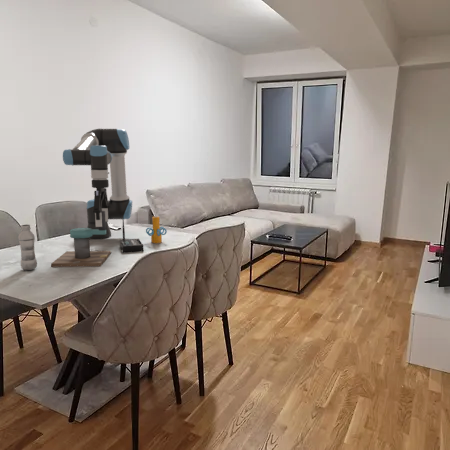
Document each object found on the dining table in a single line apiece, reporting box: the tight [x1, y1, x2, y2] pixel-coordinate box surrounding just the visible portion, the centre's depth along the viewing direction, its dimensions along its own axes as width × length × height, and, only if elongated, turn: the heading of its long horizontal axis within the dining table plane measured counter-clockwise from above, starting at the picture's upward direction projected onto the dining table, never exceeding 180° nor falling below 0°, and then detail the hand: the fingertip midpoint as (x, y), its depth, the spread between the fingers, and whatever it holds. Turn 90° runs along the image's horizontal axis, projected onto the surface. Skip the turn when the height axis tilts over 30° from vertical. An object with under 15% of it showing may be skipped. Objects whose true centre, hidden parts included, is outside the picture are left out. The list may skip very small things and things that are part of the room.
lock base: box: [50, 237, 112, 268], centre depth 188 cm, size 22×22×12 cm
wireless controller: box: [119, 215, 145, 254], centre depth 212 cm, size 20×14×17 cm
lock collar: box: [69, 211, 106, 239], centre depth 186 cm, size 17×10×12 cm, turn 94°
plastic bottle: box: [18, 224, 38, 271], centre depth 171 cm, size 6×7×20 cm
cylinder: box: [145, 215, 168, 244], centre depth 225 cm, size 12×10×15 cm
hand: (102, 224), depth 186 cm, fingers open, 13 cm apart
